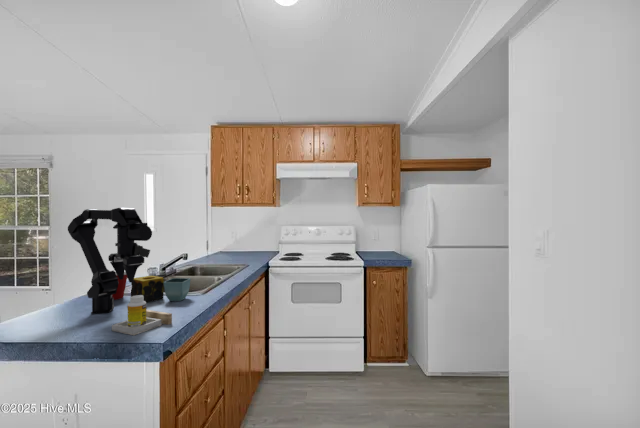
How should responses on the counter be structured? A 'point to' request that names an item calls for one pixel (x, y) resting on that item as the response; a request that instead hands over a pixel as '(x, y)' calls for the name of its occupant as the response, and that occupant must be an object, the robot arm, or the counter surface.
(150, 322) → the square tray
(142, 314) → the supplement bottle
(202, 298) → the counter surface
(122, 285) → the plastic cup
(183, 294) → the flower pot
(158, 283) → the yellow and black cube
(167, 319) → the oak sill
